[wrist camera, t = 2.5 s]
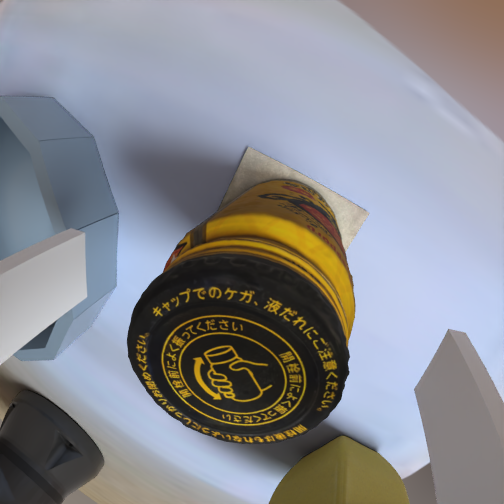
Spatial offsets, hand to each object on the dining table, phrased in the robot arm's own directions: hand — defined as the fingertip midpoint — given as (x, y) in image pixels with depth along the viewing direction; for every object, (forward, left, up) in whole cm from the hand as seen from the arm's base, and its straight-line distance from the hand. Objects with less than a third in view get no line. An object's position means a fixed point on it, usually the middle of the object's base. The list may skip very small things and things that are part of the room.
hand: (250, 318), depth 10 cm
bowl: (-3, +20, -8) cm, 22 cm away
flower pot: (-17, -10, -9) cm, 22 cm away
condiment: (0, 0, -9) cm, 9 cm away
